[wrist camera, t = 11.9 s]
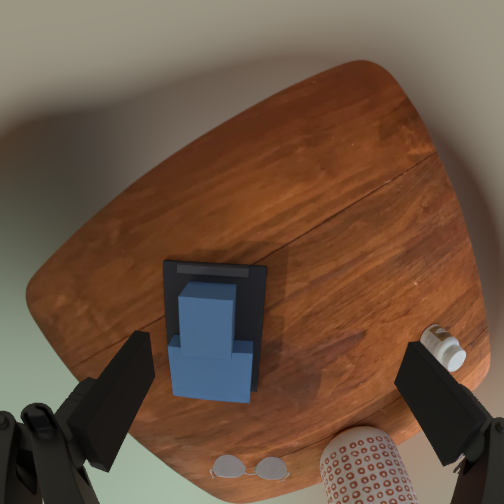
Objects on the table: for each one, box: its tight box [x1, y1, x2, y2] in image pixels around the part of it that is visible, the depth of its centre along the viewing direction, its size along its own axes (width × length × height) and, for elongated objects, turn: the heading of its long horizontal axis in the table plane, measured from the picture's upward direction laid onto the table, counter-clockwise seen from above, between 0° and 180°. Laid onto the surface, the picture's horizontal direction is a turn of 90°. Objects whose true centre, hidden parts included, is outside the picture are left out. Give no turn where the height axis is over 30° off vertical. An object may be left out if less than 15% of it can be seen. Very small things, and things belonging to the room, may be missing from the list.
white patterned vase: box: [320, 425, 419, 504], centre depth 25 cm, size 13×13×28 cm
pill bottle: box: [420, 324, 466, 372], centre depth 30 cm, size 4×4×8 cm
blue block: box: [178, 281, 236, 360], centre depth 30 cm, size 7×6×5 cm
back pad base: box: [163, 260, 267, 403], centre depth 32 cm, size 18×12×4 cm, turn 177°
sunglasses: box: [210, 455, 290, 482], centre depth 39 cm, size 14×8×5 cm, turn 86°
